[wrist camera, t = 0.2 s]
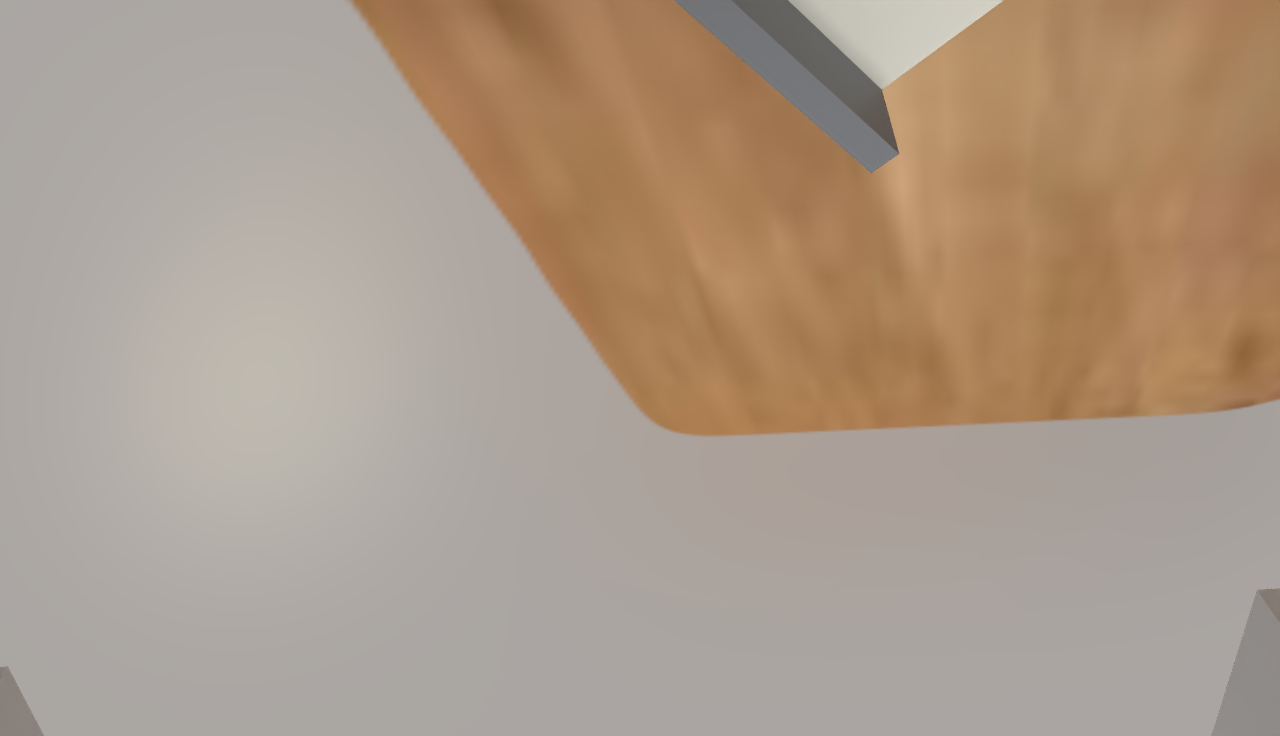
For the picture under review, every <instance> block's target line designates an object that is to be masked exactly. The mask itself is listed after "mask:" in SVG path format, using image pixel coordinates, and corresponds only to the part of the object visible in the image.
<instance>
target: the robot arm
mask: <svg viewBox="0 0 1280 736" xmlns="http://www.w3.org/2000/svg"><path fill="white" fill-rule="evenodd" d="M0 736H44V735H43V733H42V731H41V729H40V727H39V725H38V724H37V722H36V720H35V718H34V716H33V714H32V712H31V710H30V708H29V707H28V704H27V703H26V701H25V699H24V697H23V695H22V693H21V691H20V689H19V687H18V685H17V683H16V681H15V679H14V678H13V676H12V674H11V672H10V670H9V668H8V667H0ZM1212 736H1280V589H1264V590H1257V592H1256V595H1255V598H1254V602H1253V605H1252V608H1251V611H1250V614H1249V618H1248V621H1247V624H1246V627H1245V630H1244V634H1243V637H1242V640H1241V643H1240V646H1239V650H1238V653H1237V656H1236V659H1235V662H1234V666H1233V669H1232V672H1231V675H1230V678H1229V681H1228V685H1227V688H1226V691H1225V694H1224V697H1223V701H1222V704H1221V707H1220V710H1219V713H1218V717H1217V720H1216V723H1215V726H1214V729H1213V733H1212Z"/></svg>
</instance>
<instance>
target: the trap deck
mask: <svg viewBox="0 0 1280 736" xmlns="http://www.w3.org/2000/svg"><path fill="white" fill-rule="evenodd" d="M674 1H676V2H677V3H678V4H679V5H680V6H681V7H682V8H684V9H685V10H686V11H687V12H688V13H689V14H690V15H692V16H693V17H694V18H695V19H696V20H697V21H698V22H700V23H701V24H702V25H703V26H704V27H705V28H706V29H707V30H709V31H710V32H711V33H712V34H713V35H714V36H715V37H717V38H718V39H719V40H720V41H721V42H722V43H723V44H725V45H726V46H727V47H728V48H729V49H730V50H731V51H733V52H734V53H735V54H736V55H737V56H738V57H739V58H741V59H742V60H743V61H744V62H745V63H746V64H747V65H749V66H750V67H751V68H752V69H753V70H754V71H755V72H757V73H758V74H759V75H760V76H761V77H762V78H763V79H764V80H766V81H767V82H768V83H769V84H770V85H771V86H772V87H774V88H775V89H776V90H777V91H778V92H779V93H780V94H782V95H783V96H784V97H785V98H786V99H787V100H788V101H790V102H791V103H792V104H793V105H794V106H795V107H796V108H798V109H799V110H800V111H801V112H802V113H803V114H804V115H806V116H807V117H808V118H809V119H810V120H811V121H812V122H814V123H815V124H816V125H817V126H818V127H819V128H820V129H822V130H823V131H824V132H825V133H826V134H827V135H828V136H829V137H831V138H832V139H833V140H834V141H835V142H836V143H837V144H839V145H840V146H841V147H842V148H843V149H844V150H845V151H847V152H848V153H849V154H850V155H851V156H852V157H853V158H855V159H856V160H857V161H858V162H859V163H860V164H861V165H863V166H864V167H865V168H866V169H867V170H868V171H869V172H871V173H872V172H873V171H875V170H876V169H878V168H879V167H881V166H882V165H884V164H885V163H887V162H888V161H889V160H891V159H892V158H894V157H895V156H897V155H898V154H899V151H898V147H897V144H896V140H895V136H894V133H893V129H892V125H891V122H890V118H889V114H888V111H887V107H886V103H885V100H884V96H883V92H882V89H883V88H885V87H886V86H887V85H889V84H890V83H892V82H893V81H894V80H896V79H897V78H898V77H900V76H901V75H902V74H904V73H905V72H907V71H908V70H909V69H911V68H912V67H913V66H915V65H916V64H917V63H919V62H920V61H921V60H923V59H924V58H926V57H927V56H928V55H930V54H931V53H932V52H934V51H935V50H936V49H938V48H939V47H941V46H942V45H943V44H945V43H946V42H947V41H949V40H950V39H951V38H953V37H954V36H956V35H957V34H958V33H960V32H961V31H962V30H964V29H965V28H966V27H968V26H969V25H971V24H972V23H973V22H975V21H976V20H977V19H979V18H980V17H981V16H983V15H984V14H986V13H987V12H988V11H990V10H991V9H992V8H994V7H995V6H996V5H998V4H999V3H1000V2H1002V1H1003V0H674Z"/></svg>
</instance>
